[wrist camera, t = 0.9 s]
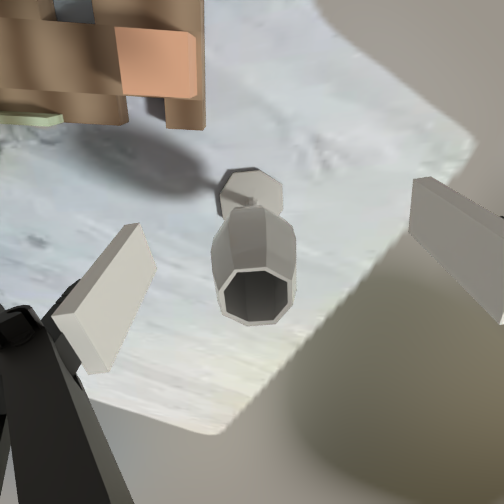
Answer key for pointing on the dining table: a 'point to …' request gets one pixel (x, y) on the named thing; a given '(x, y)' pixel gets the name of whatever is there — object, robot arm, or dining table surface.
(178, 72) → the block
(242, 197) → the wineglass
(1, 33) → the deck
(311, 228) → the dining table surface
